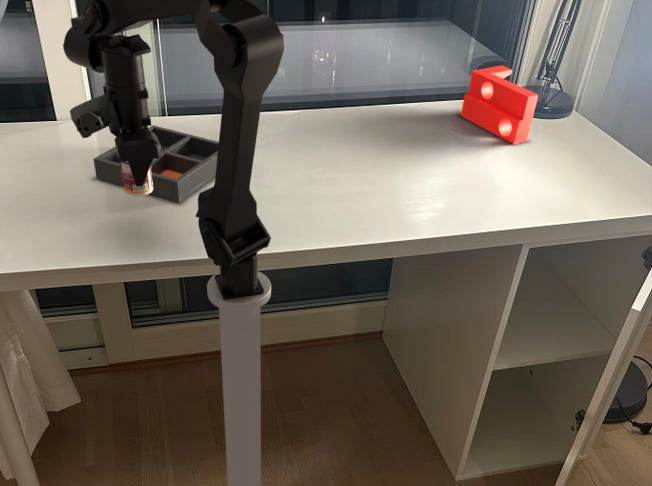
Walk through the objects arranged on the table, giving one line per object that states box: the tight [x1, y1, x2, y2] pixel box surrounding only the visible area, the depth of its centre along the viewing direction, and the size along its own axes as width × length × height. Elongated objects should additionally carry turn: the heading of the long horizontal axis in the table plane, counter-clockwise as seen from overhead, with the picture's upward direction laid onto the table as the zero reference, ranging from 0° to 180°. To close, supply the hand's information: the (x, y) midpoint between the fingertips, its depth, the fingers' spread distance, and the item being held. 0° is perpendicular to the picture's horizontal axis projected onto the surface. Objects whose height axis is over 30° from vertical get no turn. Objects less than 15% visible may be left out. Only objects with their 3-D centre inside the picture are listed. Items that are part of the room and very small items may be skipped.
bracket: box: [460, 65, 539, 145], centre depth 160 cm, size 18×10×10 cm
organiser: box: [92, 125, 219, 204], centre depth 137 cm, size 19×19×4 cm
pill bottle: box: [120, 161, 153, 197], centre depth 112 cm, size 5×5×8 cm
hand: (137, 178), depth 114 cm, fingers closed on pill bottle, 5 cm apart
